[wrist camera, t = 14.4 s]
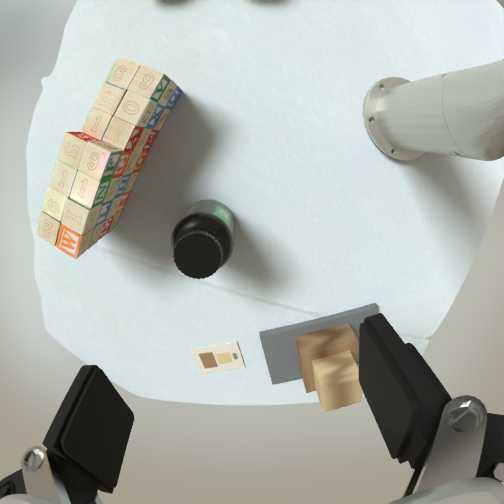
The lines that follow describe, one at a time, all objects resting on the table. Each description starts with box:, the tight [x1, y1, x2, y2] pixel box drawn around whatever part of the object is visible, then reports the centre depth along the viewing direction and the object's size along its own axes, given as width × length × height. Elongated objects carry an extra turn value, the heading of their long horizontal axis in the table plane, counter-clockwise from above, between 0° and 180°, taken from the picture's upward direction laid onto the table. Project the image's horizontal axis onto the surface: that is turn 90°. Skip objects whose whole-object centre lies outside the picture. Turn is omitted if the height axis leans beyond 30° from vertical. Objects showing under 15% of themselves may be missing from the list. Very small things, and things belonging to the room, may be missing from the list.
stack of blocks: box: [37, 58, 182, 259], centre depth 28 cm, size 21×6×12 cm, turn 150°
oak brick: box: [312, 350, 362, 412], centre depth 38 cm, size 6×6×6 cm
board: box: [259, 303, 378, 384], centre depth 46 cm, size 20×12×1 cm, turn 102°
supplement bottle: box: [171, 200, 234, 279], centre depth 32 cm, size 7×7×12 cm
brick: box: [295, 323, 359, 393], centre depth 43 cm, size 9×9×5 cm
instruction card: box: [191, 341, 245, 373], centre depth 46 cm, size 8×6×1 cm
